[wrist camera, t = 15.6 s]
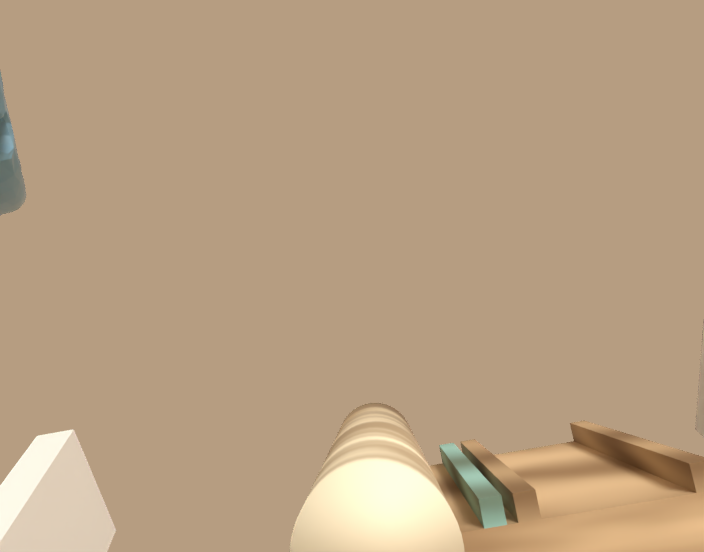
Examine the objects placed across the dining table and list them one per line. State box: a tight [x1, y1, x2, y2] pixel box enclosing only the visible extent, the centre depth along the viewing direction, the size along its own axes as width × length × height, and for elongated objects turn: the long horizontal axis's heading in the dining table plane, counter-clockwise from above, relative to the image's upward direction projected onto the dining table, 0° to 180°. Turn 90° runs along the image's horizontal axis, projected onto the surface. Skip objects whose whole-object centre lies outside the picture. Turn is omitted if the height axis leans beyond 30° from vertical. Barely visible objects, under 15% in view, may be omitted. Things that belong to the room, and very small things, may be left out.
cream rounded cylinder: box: [290, 403, 465, 552], centre depth 22 cm, size 18×4×4 cm, turn 178°
